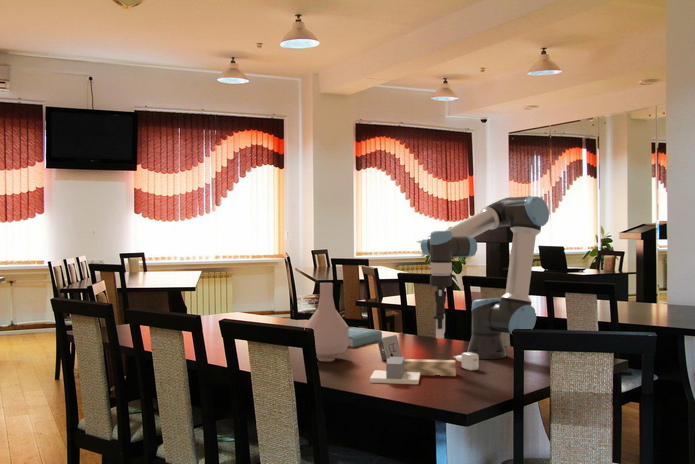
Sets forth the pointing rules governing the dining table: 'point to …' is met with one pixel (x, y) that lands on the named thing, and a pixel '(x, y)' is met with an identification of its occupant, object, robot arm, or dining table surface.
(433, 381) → the dining table surface
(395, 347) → the electrical switch
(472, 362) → the power adapter
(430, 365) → the beam
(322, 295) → the vase
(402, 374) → the fulcrum
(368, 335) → the book
